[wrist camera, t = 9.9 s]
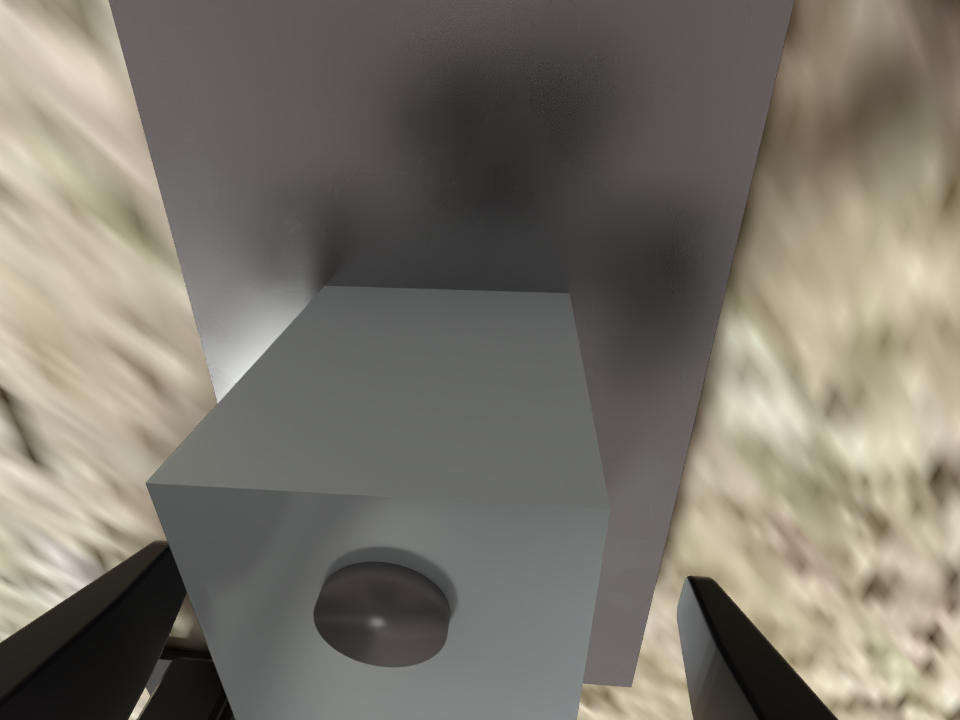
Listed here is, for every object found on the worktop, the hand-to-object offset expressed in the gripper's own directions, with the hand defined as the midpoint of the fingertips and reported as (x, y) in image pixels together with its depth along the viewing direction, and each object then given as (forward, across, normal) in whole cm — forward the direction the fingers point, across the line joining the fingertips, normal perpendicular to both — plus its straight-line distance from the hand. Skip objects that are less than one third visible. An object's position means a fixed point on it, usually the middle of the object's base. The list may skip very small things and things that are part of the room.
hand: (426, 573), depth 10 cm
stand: (+6, 0, 0) cm, 6 cm away
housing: (+4, 0, 0) cm, 4 cm away
